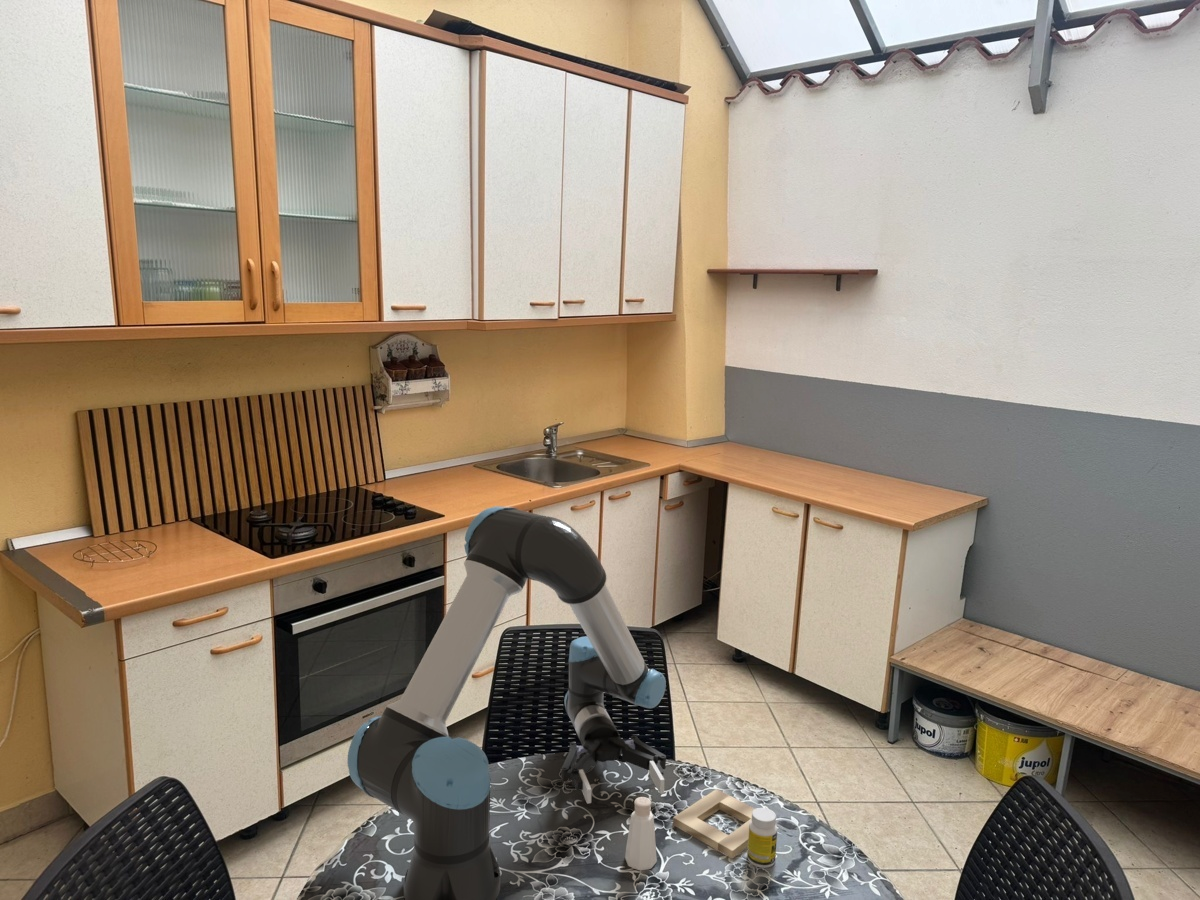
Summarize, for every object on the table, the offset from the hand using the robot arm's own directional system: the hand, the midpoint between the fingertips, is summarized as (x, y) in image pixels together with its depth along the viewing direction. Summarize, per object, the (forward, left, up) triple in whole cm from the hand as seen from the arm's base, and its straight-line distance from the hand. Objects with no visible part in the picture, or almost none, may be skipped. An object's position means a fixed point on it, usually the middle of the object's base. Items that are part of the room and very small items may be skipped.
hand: (626, 791), depth 148 cm
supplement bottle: (+22, +10, -7) cm, 25 cm away
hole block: (+12, +13, -7) cm, 19 cm away
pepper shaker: (+8, -5, -7) cm, 12 cm away
